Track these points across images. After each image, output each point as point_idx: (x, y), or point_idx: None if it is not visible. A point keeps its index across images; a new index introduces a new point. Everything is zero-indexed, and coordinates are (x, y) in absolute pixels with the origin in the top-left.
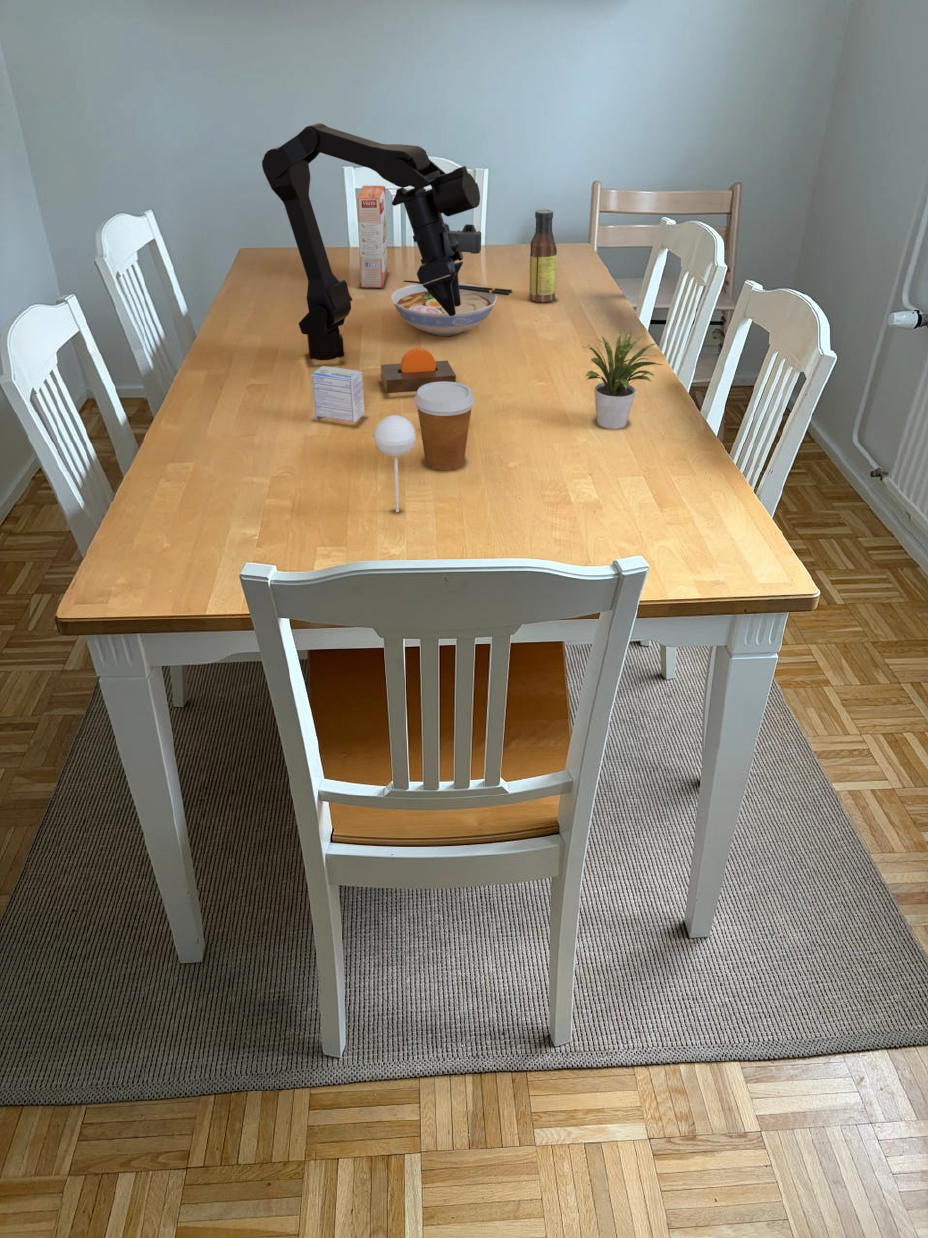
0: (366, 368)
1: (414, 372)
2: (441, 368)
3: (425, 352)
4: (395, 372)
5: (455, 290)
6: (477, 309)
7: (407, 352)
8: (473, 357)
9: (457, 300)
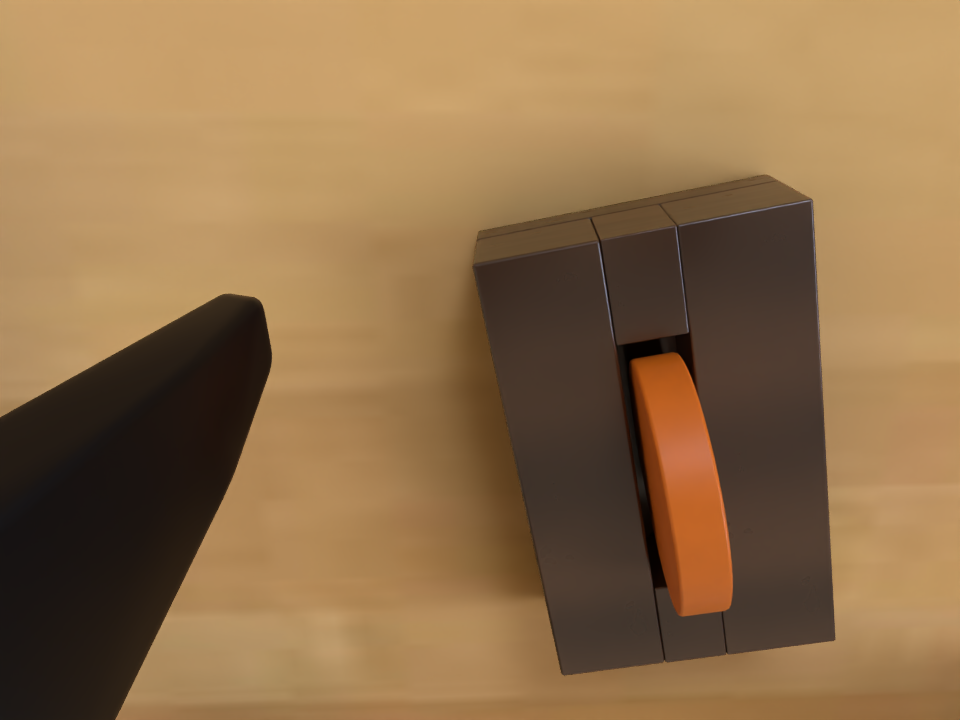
0: (352, 671)
1: None
2: (649, 309)
3: (719, 491)
4: None
5: (129, 489)
6: None
7: (688, 611)
8: (45, 33)
9: (232, 371)
